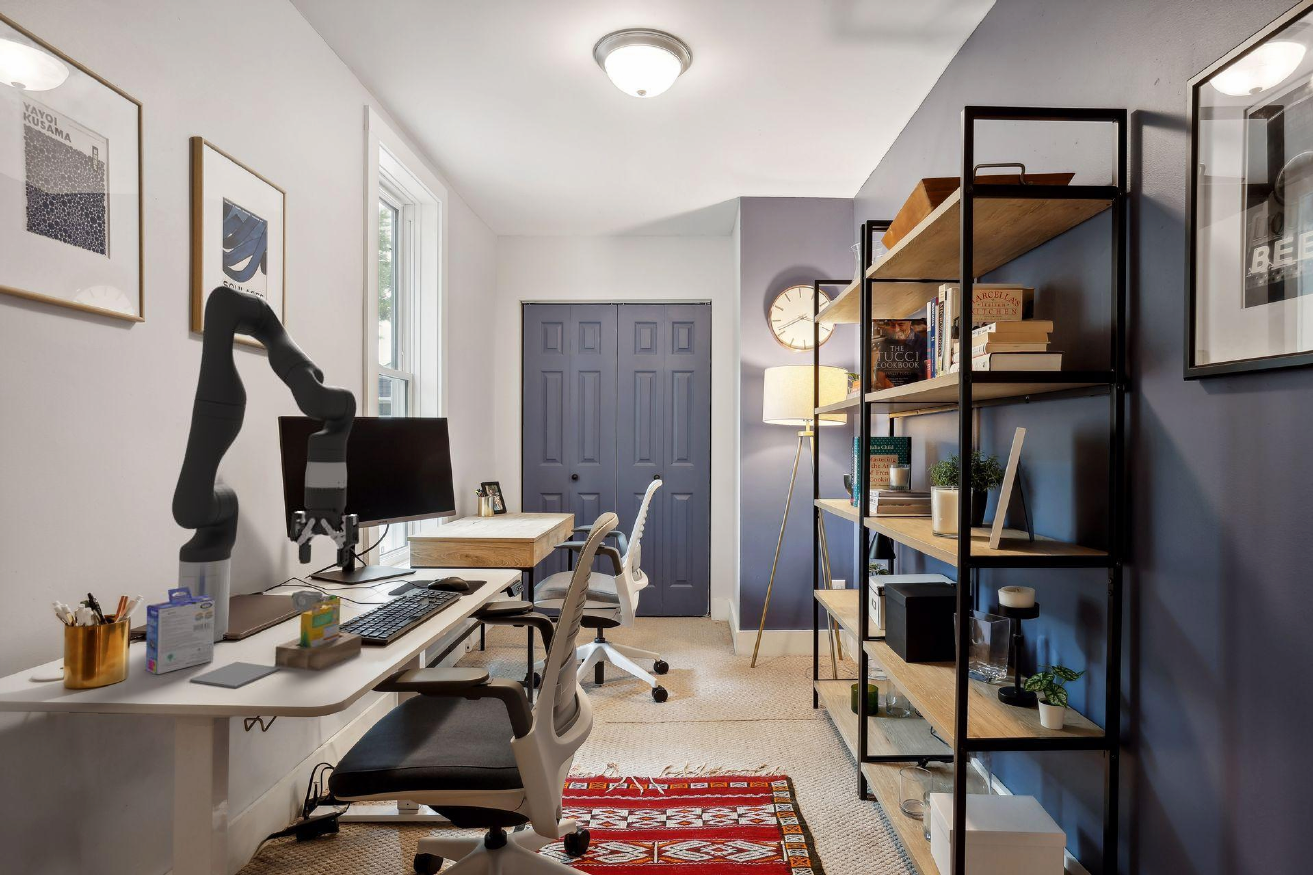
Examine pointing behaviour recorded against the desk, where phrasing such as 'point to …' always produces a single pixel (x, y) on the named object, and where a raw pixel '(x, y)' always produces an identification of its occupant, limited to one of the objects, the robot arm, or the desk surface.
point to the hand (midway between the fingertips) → (323, 564)
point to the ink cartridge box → (179, 632)
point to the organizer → (318, 652)
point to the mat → (235, 674)
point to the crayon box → (320, 624)
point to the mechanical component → (309, 600)
